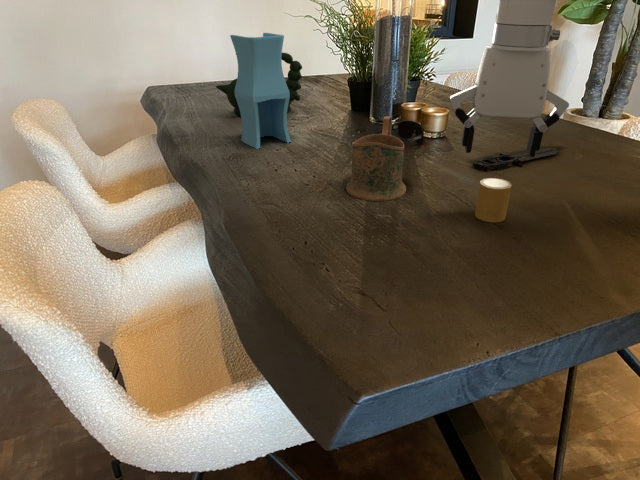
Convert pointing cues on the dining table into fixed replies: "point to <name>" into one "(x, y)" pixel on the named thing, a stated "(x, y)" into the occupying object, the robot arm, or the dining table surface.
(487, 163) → the knife
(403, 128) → the sunglasses
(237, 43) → the teal arched pillar
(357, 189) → the bronze bell
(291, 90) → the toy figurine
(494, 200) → the candle holder
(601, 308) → the dining table surface
